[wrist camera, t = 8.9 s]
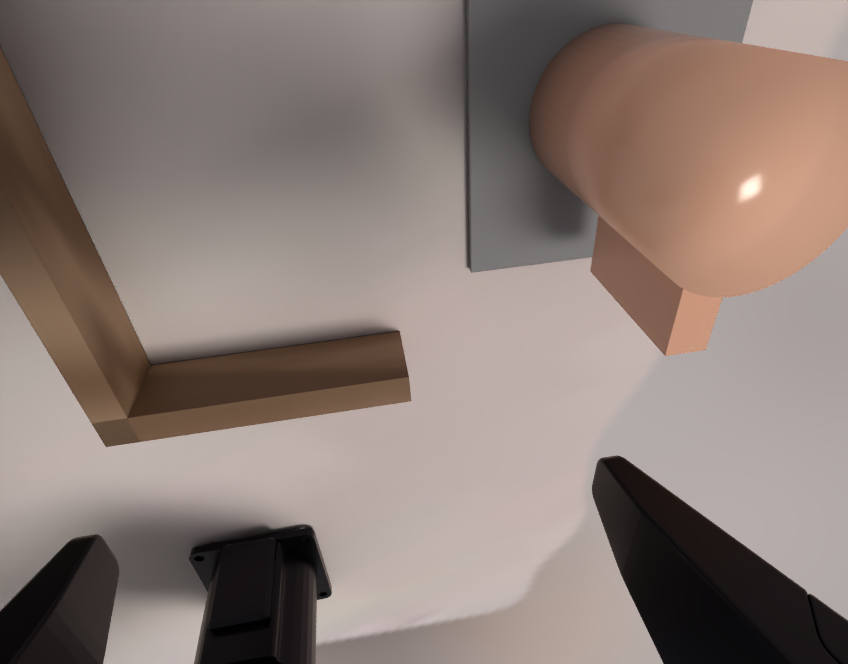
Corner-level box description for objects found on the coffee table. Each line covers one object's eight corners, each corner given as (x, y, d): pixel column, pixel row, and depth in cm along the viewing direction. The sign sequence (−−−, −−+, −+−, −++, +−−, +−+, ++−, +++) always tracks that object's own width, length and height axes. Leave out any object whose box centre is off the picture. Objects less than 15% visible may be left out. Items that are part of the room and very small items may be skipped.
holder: (402, 353, 22) (411, 401, 20) (131, 392, 21) (105, 446, 19) (331, -298, 11) (332, -373, 9) (-222, -283, 10) (-388, -362, 8)
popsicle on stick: (690, 16, 16) (939, 46, 9) (644, 237, 20) (794, 362, 14) (534, 30, 15) (684, 71, 9) (521, 253, 20) (616, 389, 13)
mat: (685, 241, 21) (689, 244, 21) (469, 269, 20) (471, 272, 20) (775, -113, 15) (782, -115, 14) (465, -93, 14) (468, -94, 14)
